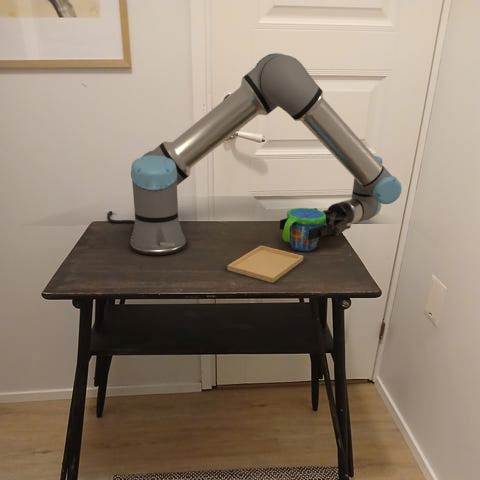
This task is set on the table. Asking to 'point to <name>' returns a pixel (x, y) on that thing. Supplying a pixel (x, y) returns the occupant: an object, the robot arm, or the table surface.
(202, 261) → the table surface
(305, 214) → the snack cup
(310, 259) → the table surface
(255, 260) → the tray
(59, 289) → the table surface
